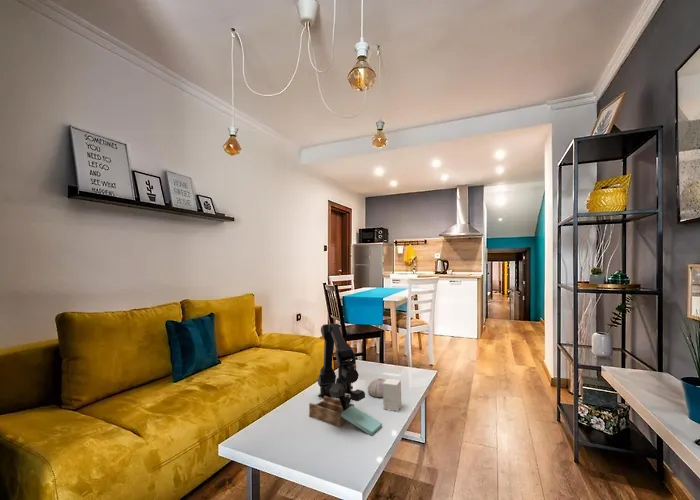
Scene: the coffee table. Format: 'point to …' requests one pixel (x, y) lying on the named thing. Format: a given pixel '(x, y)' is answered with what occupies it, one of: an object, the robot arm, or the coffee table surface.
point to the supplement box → (392, 394)
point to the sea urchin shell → (376, 387)
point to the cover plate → (361, 420)
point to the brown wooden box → (328, 411)
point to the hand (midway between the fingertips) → (345, 411)
